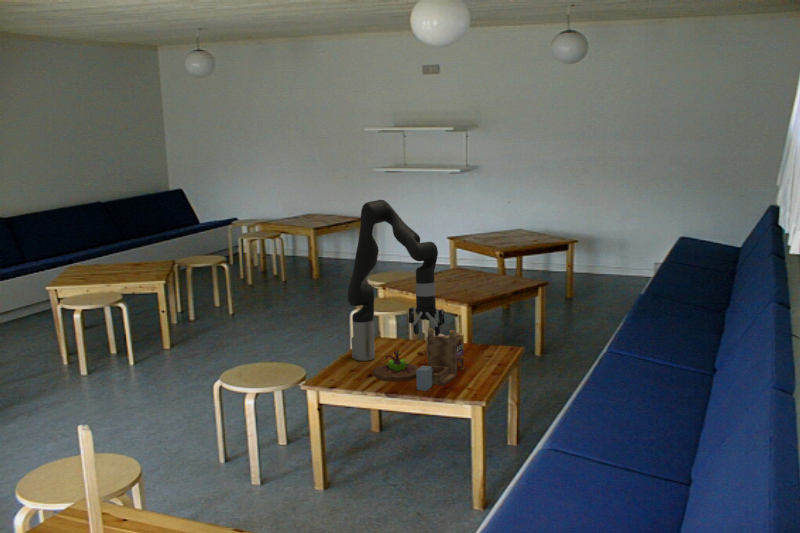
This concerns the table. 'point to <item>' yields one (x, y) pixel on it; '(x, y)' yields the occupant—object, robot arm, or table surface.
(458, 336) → the candy box
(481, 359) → the table surface
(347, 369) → the table surface
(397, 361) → the plant
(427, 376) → the block
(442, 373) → the chair
